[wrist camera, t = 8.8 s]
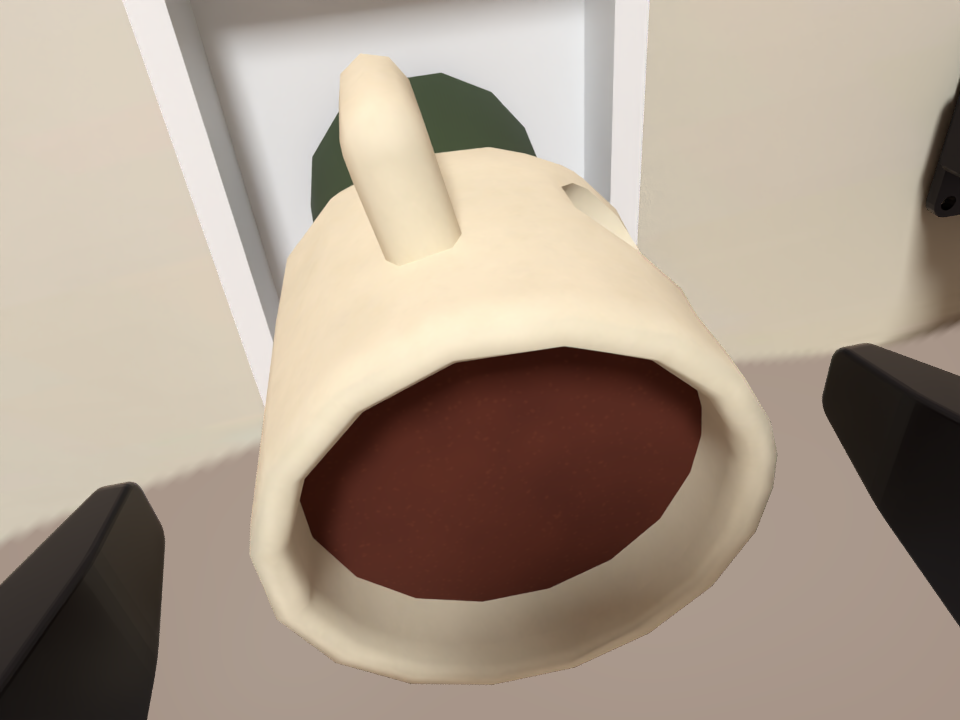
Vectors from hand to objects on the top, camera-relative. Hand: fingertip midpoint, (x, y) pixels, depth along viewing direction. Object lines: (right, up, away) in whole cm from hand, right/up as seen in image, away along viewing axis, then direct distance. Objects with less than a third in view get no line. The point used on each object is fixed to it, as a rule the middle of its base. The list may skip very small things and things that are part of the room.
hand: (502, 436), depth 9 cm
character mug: (-2, +6, +11) cm, 13 cm away
